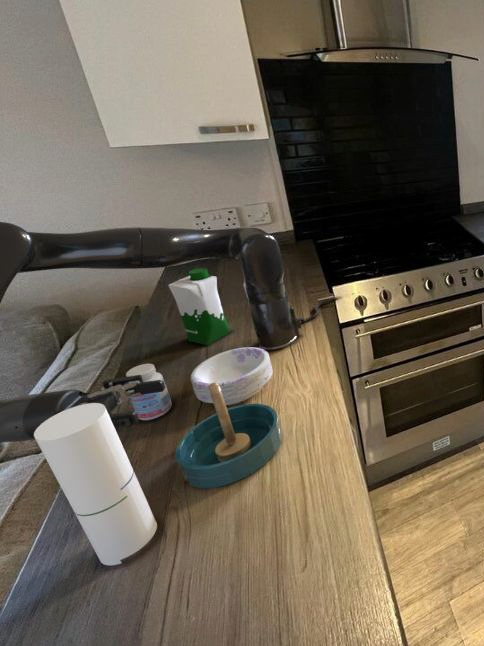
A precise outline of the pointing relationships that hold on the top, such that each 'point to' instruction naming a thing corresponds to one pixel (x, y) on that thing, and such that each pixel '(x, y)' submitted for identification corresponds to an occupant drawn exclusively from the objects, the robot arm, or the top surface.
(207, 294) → the milk carton
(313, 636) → the top surface
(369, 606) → the top surface
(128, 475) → the cylindrical container
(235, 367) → the paper bowls
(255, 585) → the top surface
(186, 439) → the bowl
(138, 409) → the pill bottle
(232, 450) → the wooden peg on disc
